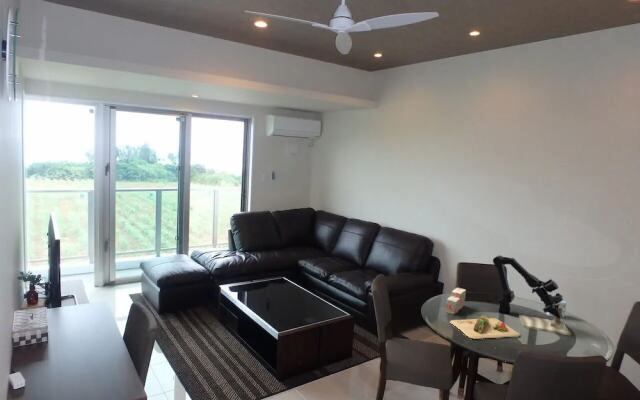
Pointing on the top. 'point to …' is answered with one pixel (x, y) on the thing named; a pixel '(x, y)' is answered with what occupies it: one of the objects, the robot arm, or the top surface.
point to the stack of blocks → (455, 301)
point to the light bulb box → (561, 305)
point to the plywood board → (542, 325)
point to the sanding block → (558, 320)
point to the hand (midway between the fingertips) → (561, 317)
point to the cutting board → (484, 328)
